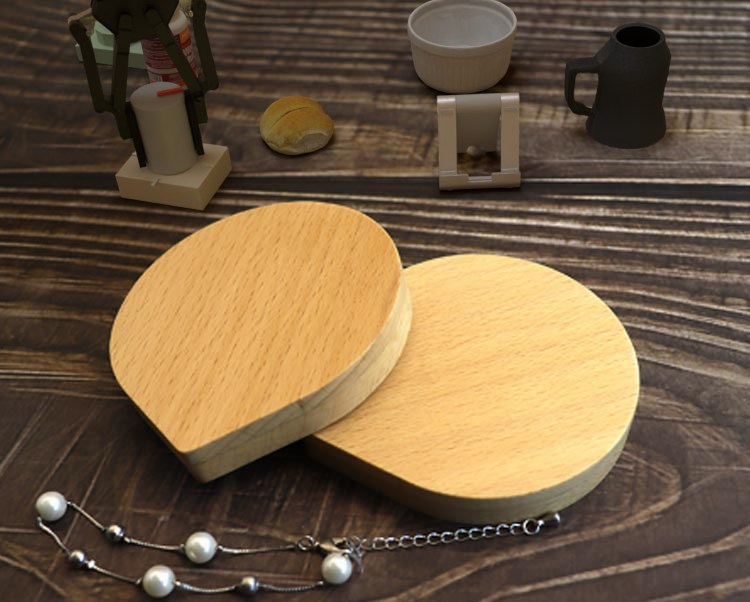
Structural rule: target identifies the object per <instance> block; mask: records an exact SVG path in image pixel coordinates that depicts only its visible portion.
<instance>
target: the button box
mask: <svg viewBox="0 0 750 602" xmlns="http://www.w3.org/2000/svg"><path fill="white" fill-rule="evenodd" d="M93 27H94V33H93V35H91V36H90V37H91V41H92V45H93V50H94V54H95V59H96V63H97V64H100V65H101V64H102V65H109V66H112V65H113V47H114V39H113V33H111V32H110V31H109V30H108V29H106V28H105V27H104V26H103V25H102V24H100V23H99V22H98V21H95V22H94V26H93ZM74 48H75V51H76V54H77V58H78V61H79V62H83V58H82V54H81V50H80V46H79V45H78V43H77V42H76V44H75V45H74ZM128 68H132V69H133V68H134V69H142V70H147V67H146V63H145V59H144V55H143V50H142V47H141V43H140V41H138V42H136V43H130V54H129V60H128Z"/></svg>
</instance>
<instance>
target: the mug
mask: <svg viewBox="0 0 750 602" xmlns="http://www.w3.org/2000/svg"><path fill="white" fill-rule="evenodd" d="M671 61H672V53H671V50H670V48H669V46H668V44H667V39H666V34H665V32H664V31H663V30H662V29H661V28H659V27H658V26H656V25H653V24H650V23H645V22H627V23H624V24H621V25H618V26H617V27H616V28H614V29H613V31H612V33H611V34H610V36H609V38H608V40H607V41H606V42H605V43H604V45H603V46H602V47H600V49H599V50H598V51H597V52H596V53H595V55H593V56H589V57H588V56H587V57H579V58H575V59H570V60H568V61H567V62H566V63H565V67H564V68H565V69H564V84H563V85H564V86H563V95H564V99H565V102H566V103H567V104H566V105H567V107H568V108H569V110H570V111H571V113H572V114H574V115H577V116H585V117H586V120H585V130H586V132H587V134H588V135H589V136H590V137H591V138H592V139H594V140H595V141H597V142H598V143H600V144H602V145H605V146H608V147H612V148H616V149H617V148H618V149H633V150H634V149H641V148H645V147H650V146H652V145H654V144H656V143H658V142H659V141H660V140H661V139H663V138H664V137H665V134H666V131H667V121H666V113H665V108H664V106H663V101H664V96H665V91H666V86H667V83H668V78H669V74H670V67H671V63H672V62H671ZM580 73H581V74H585V73H586V74H588V73H590V74H597V87H596V90H595V91H596V92H595V97H594V101H593V103H592V106H591V107H590V106H587V105H585V104H584V103H582V102H579V101H577V100H576V99H575V88H576V79H577V75H578V74H580Z"/></svg>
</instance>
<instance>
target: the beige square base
mask: <svg viewBox="0 0 750 602" xmlns="http://www.w3.org/2000/svg"><path fill="white" fill-rule="evenodd" d="M202 143H203V148H204V153H205V155H200V156H198V154H197V161H196V163H195V164H194V165H193V166H192V167H191V168H189V169H188V170H186V171H184V172H181V173H178V174H173V175H161V174H156V173H154V172H152V171H151V170H149V168H148V167H143V168H140V166H139V162H138V158H137V154H136V151H135V150H134V152H132V153H131V155H130V157H129V158H128V159H127V160H126V161H125V162H124V164H123V165H122V166H121V168H120V169H119V170H118V171H117V172H116V174H115V175H114V177H115V180H116V183H117V187H118V190H119V194H120V197H121V198H123V199H129V200H135V201H140V202H147V203H153V204H160V205H166V206H172V207H178V208H184V209H191V210H197V211H204V210H205V208H206V207H207V206H208V205H209V203H210V202H211V200H212V199H213V198H214V196H215V195H216V193H217V192H218V190H219V189H220V187H221V186H222V184H223V183H224V181H225V180H226V178H228V176H229V174H230V173H231V172H232V171H233V167H232V161H231V154H230V149H229V146H225V145H219V144H218V145H217V144H213V143H205V142H202ZM196 152H197V151H196ZM146 165H147V164H146Z"/></svg>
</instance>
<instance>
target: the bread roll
mask: <svg viewBox="0 0 750 602" xmlns="http://www.w3.org/2000/svg"><path fill="white" fill-rule="evenodd" d="M334 131H335V124H334V121H333V119H332V117H331V116H330V115H328V114H327V113H325V110H324V108H323V107H322V105H320V104H319V102H317V101H316V100H315V99H312V98H310V97H308V96H304V95H289V96H285V97H282V98H278V99H277V100H275V101H274V102H272V103H271V104H270V105H269V106H268V107H267V108H266V110H265V111H264V113H263V115H262V117H261V120H260V124H259V133H260V136H261V138H262V139H263V141H264V142H265V143H266V144H267V145H268V147H269V148H271V149H272V150H273V151H274V152H277V153H280V154H283V155H287V156H288V155H289V156H297V155H303V154H307V153H312V152H315V151H318V150H320V149H322V148H324V147H325V146H326V145H327V144H328V143H329V141H330V139H331V138H332V136H333V135H334Z"/></svg>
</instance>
